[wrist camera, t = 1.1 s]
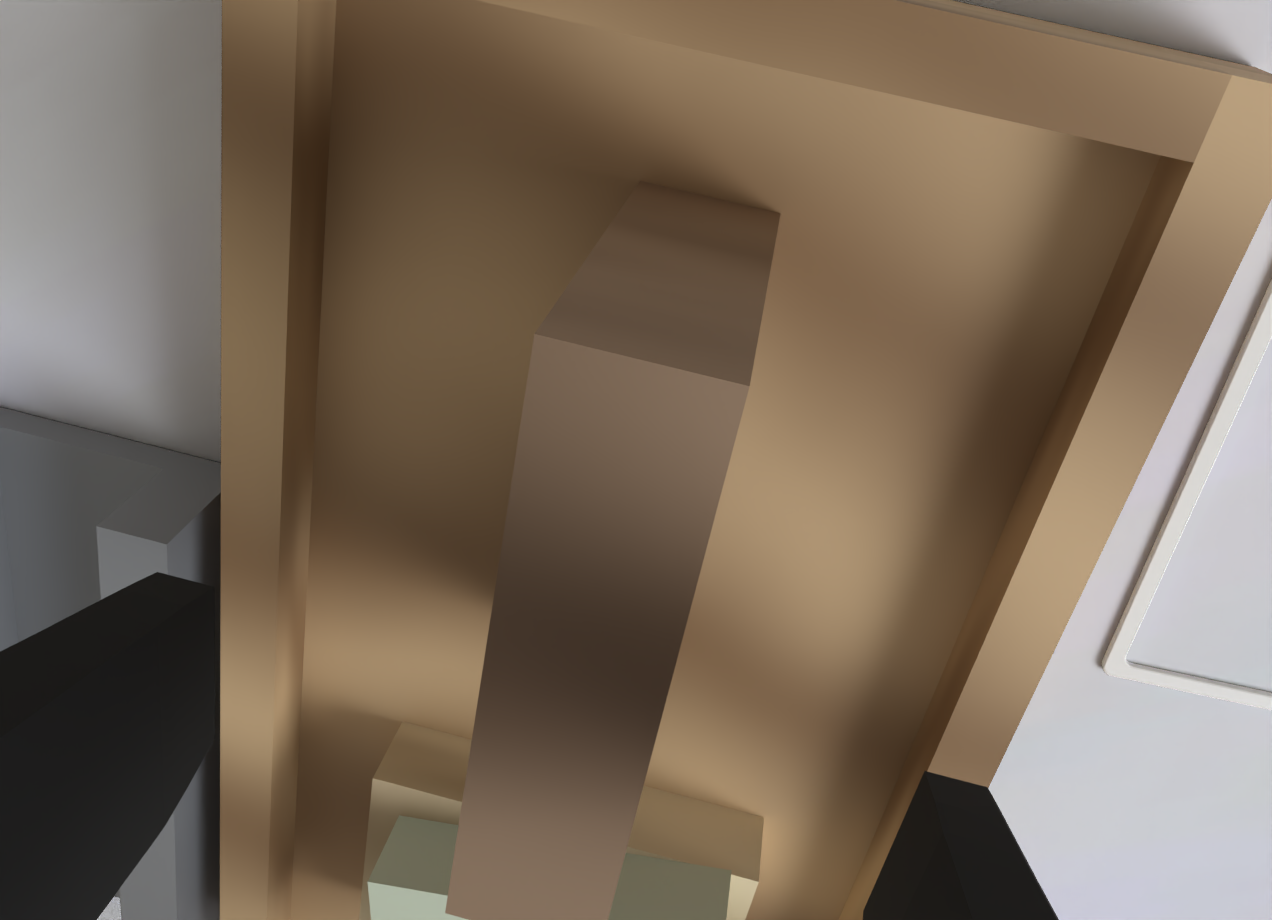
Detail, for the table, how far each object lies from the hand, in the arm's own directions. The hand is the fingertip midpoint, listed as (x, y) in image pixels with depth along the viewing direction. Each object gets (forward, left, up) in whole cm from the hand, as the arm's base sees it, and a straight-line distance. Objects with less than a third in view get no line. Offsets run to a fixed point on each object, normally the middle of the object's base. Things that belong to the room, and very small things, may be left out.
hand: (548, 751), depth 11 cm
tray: (-4, 0, -8) cm, 9 cm away
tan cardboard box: (0, 0, -7) cm, 7 cm away
